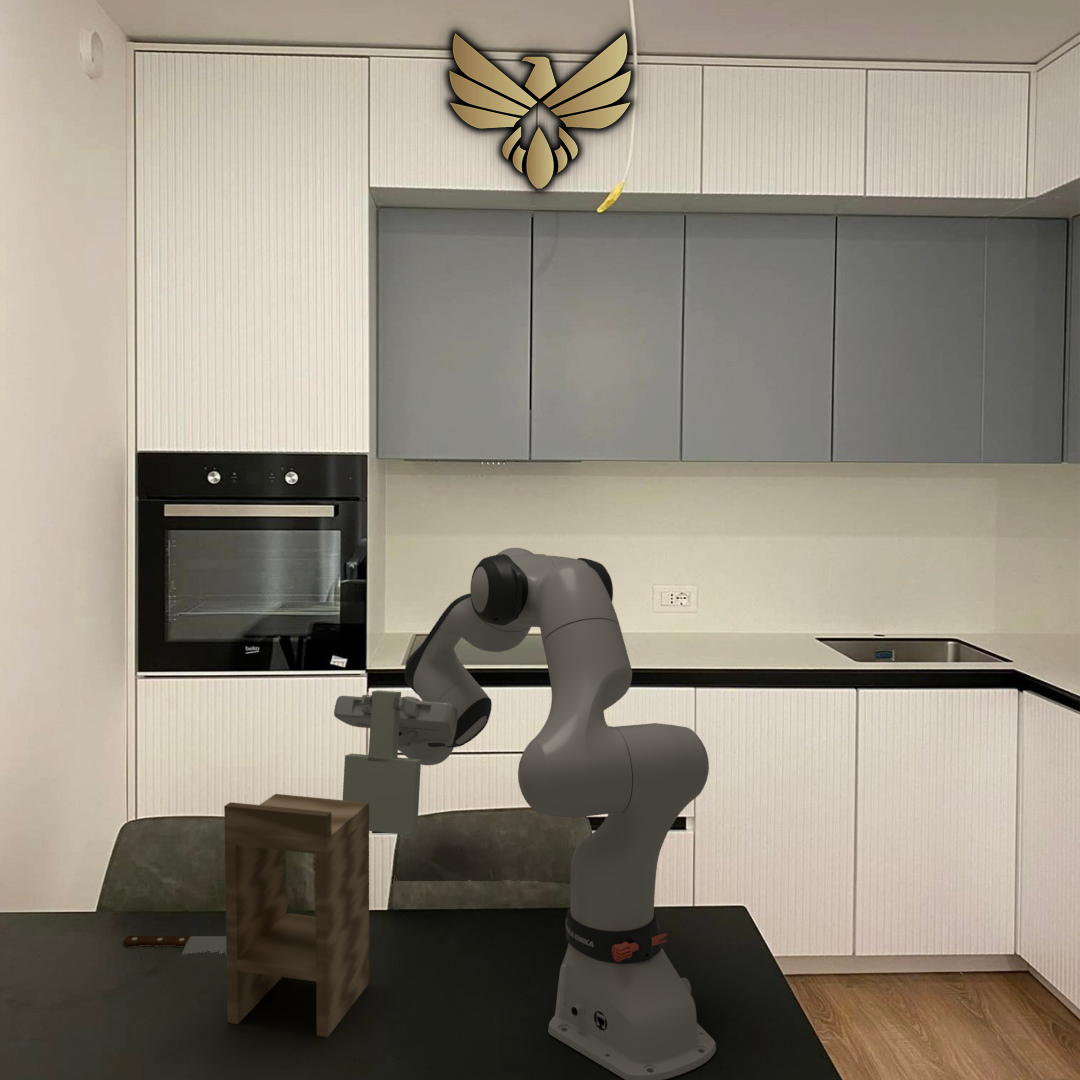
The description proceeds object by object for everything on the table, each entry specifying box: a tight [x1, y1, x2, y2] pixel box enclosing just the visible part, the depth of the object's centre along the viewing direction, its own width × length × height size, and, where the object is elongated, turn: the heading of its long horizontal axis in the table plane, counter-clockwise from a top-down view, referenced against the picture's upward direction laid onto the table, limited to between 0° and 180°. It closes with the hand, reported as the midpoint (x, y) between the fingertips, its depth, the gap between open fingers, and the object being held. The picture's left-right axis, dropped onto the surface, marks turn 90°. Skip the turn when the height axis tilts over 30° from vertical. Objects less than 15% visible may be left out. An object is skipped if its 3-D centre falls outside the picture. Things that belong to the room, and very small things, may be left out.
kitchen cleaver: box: [123, 934, 226, 957], centre depth 158 cm, size 24×1×10 cm
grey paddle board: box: [342, 689, 422, 836], centre depth 171 cm, size 22×12×2 cm
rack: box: [223, 793, 370, 1038], centre depth 143 cm, size 14×14×29 cm
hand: (381, 700), depth 170 cm, fingers closed on grey paddle board, 4 cm apart
